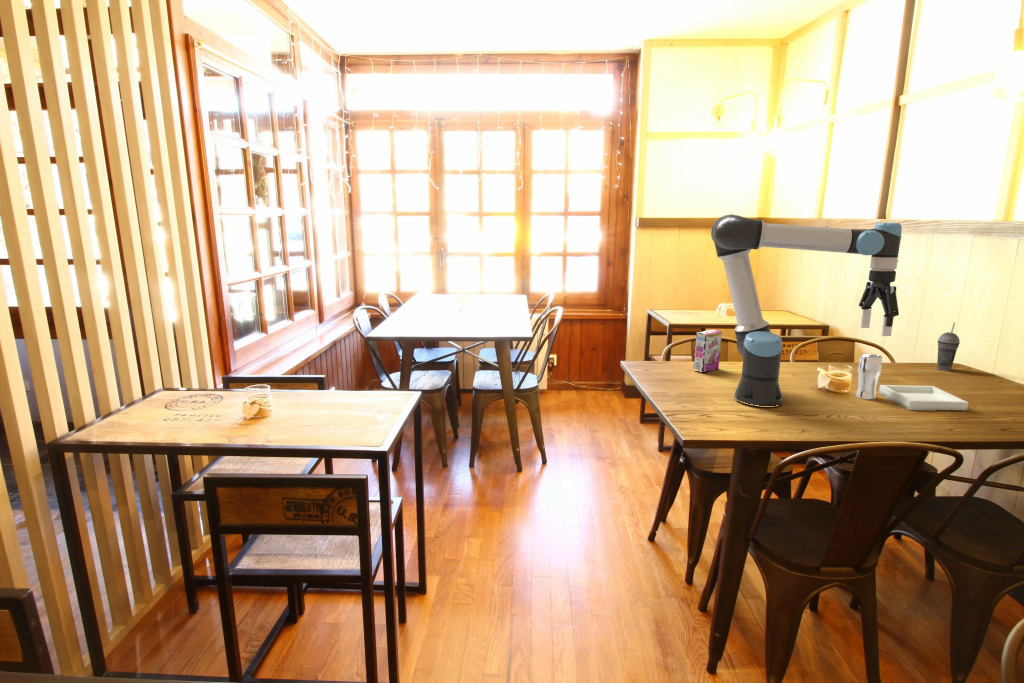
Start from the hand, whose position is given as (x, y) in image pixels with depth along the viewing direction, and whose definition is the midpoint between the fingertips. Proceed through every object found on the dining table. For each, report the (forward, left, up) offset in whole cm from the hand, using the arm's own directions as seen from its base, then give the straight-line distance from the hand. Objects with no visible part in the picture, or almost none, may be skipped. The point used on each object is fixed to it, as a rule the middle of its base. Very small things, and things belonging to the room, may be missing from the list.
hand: (874, 331), depth 193 cm
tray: (+16, -4, -24) cm, 29 cm away
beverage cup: (+50, +39, -24) cm, 68 cm away
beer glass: (0, 0, -24) cm, 24 cm away
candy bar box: (-47, +32, -24) cm, 62 cm away
